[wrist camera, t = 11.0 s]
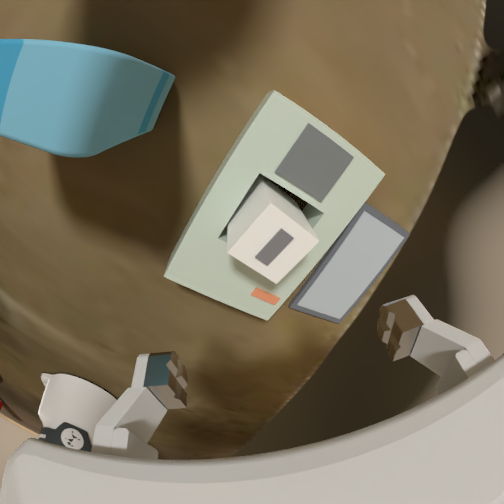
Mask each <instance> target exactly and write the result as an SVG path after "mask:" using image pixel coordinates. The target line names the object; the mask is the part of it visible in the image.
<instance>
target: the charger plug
mask: <svg viewBox="0 0 504 504" xmlns="http://www.w3.org/2000/svg"><path fill="white" fill-rule="evenodd" d="M318 242H319V240H318V238H317V236H316V234H315V233H314V231H313V229H312V228H311V226H310V224H309V222H308V221H307V219H306V217H305V216H304V214H303V212H302V211H301V209H300V207H299V206H298V204H297V203H296V201H295V200H294V199H292V198H291V197H290V196H289V195H287V194H286V193H285V192H284V191H282V190H281V189H280V188H279V187H277V186H276V185H275V184H274V183H272V182H271V181H270V180H269V179H267V178H266V177H265V176H263V175H262V174H260V173H259V175H258V176H257V178H256V179H255V181H254V182H253V184H252V186H251V187H250V189H249V190H248V192H247V193H246V195H245V196H244V198H243V199H242V201H241V203H240V204H239V206H238V207H237V209H236V210H235V212H234V214H233V215H232V217H231V218H230V220H229V221H228V231H227V253H228V254H230V255H231V256H233V257H235V258H236V259H238V260H239V261H241V262H242V263H244V264H246V265H247V266H249V267H250V268H252V269H253V270H255V271H257V272H258V273H260V274H261V275H263V276H265V277H266V278H268V279H269V280H271V281H272V282H274V283H276V284H277V283H278V282H279V281H280V280H281V279H282V278H283V277H284V276H285V275H286V274H287V273H288V272H289V271H290V270H291V269H292V268H293V267H294V266H295V265H296V264H297V263H298V262H299V261H300V260H301V259H302V258H303V257H304V256H305V255H306V254H307V253H308V252H309V251H310V250H311V249H312V248H313V247H314V246H315V245H316V244H317V243H318Z"/></svg>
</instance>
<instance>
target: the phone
mask: <svg viewBox="0 0 504 504" xmlns="http://www.w3.org/2000/svg"><path fill="white" fill-rule="evenodd" d="M409 235H410V233H409V232H408V231H406V230H405V229H404V228H402V227H401V226H399V225H398V224H397V223H395V222H394V221H392V220H391V219H390V218H388V217H387V216H385V215H384V214H382V213H381V212H379V211H378V210H377V209H375V208H374V207H372V206H371V205H369V204H368V203H366V202H365V203H364V204H363V205H362V207H361V208H360V209H359V211H358V212H357V213H356V214H355V216H354V217H353V218H352V220H351V221H350V222H349V224H348V225H347V226H346V227H345V229H344V230H343V231H342V233H341V234H340V235H339V236H338V238H337V239H336V240H335V242H334V243H333V245H332V246H331V248H330V249H329V250H328V252H327V253H326V255H325V256H324V257H323V259H322V260H321V262H320V263H319V264H318V266H317V267H316V269H315V270H314V271H313V273H312V274H311V276H310V277H309V278H308V280H307V281H306V282H305V284H304V285H303V286H302V288H301V289H300V290H299V292H298V293H297V294H296V296H295V297H294V298H293V300H292V301H291V302H290V304H289V308H292V309H295V310H298V311H301V312H304V313H307V314H310V315H313V316H316V317H319V318H323V319H326V320H329V321H332V322H335V323H338V324H339V323H340V322H341V321H342V320H343V319H344V318H345V317H346V315H347V314H348V313H349V312H350V311H351V310H352V308H353V307H354V306H355V305H356V304H357V303H358V301H359V300H360V299H361V298H362V297H363V295H364V294H365V293H366V292H367V291H368V289H369V288H370V287H371V286H372V284H373V283H374V282H375V281H376V279H377V278H378V277H379V276H380V274H381V273H382V272H383V270H384V269H385V268H386V267H387V265H388V264H389V263H390V261H391V260H392V259H393V257H394V256H395V255H396V253H397V252H398V250H399V249H400V248H401V246H402V245H403V244H404V242H405V241H406V239H407V238H408V236H409Z"/></svg>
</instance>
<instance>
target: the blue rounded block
mask: <svg viewBox="0 0 504 504" xmlns="http://www.w3.org/2000/svg"><path fill="white" fill-rule="evenodd" d="M174 80H175V76H174V75H173V74H171V73H169V72H167V71H164V70H162V69H160V68H158V67H156V66H153V65H151V64H149V63H146V62H144V61H142V60H139V59H137V58H134V57H132V56H129V55H126V54H123V53H120V52H117V51H113V50H109V49H105V48H100V47H95V46H90V45H84V44H77V43H69V42H60V41H50V40H34V39H0V136H2V137H5V138H8V139H11V140H14V141H17V142H20V143H23V144H26V145H29V146H31V147H34V148H37V149H40V150H43V151H46V152H49V153H52V154H55V155H59V156H65V157H90V156H94V155H96V154H98V153H101V152H103V151H105V150H107V149H109V148H111V147H114V146H116V145H118V144H120V143H123V142H125V141H127V140H130V139H132V138H135V137H137V136H139V135H142V134H145V133H147V132H150V131H152V130H153V128H154V125H155V123H156V120H157V118H158V115H159V113H160V111H161V108H162V106H163V104H164V101H165V99H166V97H167V95H168V92H169V90H170V88H171V86H172V84H173V82H174Z"/></svg>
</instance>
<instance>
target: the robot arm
mask: <svg viewBox="0 0 504 504" xmlns="http://www.w3.org/2000/svg"><path fill="white" fill-rule="evenodd" d="M380 314H381V317H380V318H379V319H378V323H377V329H378V334H379V336H380V338H381V340H382V341H383V342H384V343H386V344H387V351H388V353H389V355H390V357H391V359H392V360H393V361H395V360H398V359H401V358H403V357H406V356H409V355H410V356H411V357H413V358H414V359H416V360H417V361H419V362H420V363H422V364H423V365H425V366H426V367H427V368H429V369H430V370H432V371H433V372H435V373H436V374H438V375H439V376H441V377H442V378H441V379H440V381H439V382H438V384H437V386H436V391H437V392H438V394H439V395H438V396H436V397H435V398H433V399H431V400H429V401H427V402H425V403H423V404H421V405H419V406H417V407H414V408H412V409H410V410H408V411H406V412H404V413H401V414H399V415H397V416H394V417H392V418H390V419H387V420H384V421H382V422H379V423H377V424H374V425H371V426H369V427H366V428H363V429H361V430H357V431H354V432H352V433H348V434H345V435H342V436H338V437H335V438H332V439H328V440H324V441H321V442H317V443H313V444H309V445H305V446H300V447H295V448H291V449H286V450H280V451H275V452H270V453H263V454H256V455H248V456H241V457H230V458H218V459H199V460H161V459H158V451H157V450H156V449H155V448H153V447H152V446H150V445H149V444H147V443H148V441H149V439H150V438H151V436H152V435H153V433H154V431H155V430H156V428H157V427H158V425H159V423H160V422H161V420H162V418H163V417H164V415H165V414H166V412H167V409H176V408H187V393H186V391H185V390H184V388H185V387H186V386H187V384H188V377H187V371H186V369H185V366H184V364H183V363H182V362H180V361H178V355H177V353H176V352H175V351H170V352H159V353H148V354H139V356H138V357H137V361H136V366H135V370H134V375H133V381H132V386H131V388H127V390H126V391H125V392H124V393H123V394H122V395H121V397H120V398H119V399H118V400H116V399H115V398H114V397H113V396H112V395H110V394H109V393H108V392H106V391H105V390H103V389H101V388H100V387H98V386H96V385H94V384H92V383H90V382H88V381H86V380H83V379H81V378H78V377H75V376H72V375H67V374H55V375H51V374H47V373H42V376H41V379H42V382H43V384H44V386H45V391H44V394H43V397H42V400H41V404H40V407H39V411H38V415H39V416H40V419H41V421H42V423H43V428H41V432H40V434H39V437H38V438H39V439H35V438H29V439H27V440H26V441H24V442H23V443H22V444H21V445H20V446H19V447H18V448H17V449H16V450H15V451H14V452H13V453H12V454H11V456H10V457H9V459H8V461H7V464H6V468H5V471H4V476H3V480H2V485H1V490H0V504H504V354H502V355H501V356H500V357H498V358H497V359H496V360H494V358H493V357H492V356H491V354H490V353H489V351H488V350H487V348H486V347H485V345H484V344H483V343H482V341H481V340H480V339H479V338H477V337H474V336H472V335H470V334H468V333H466V332H464V331H461V330H459V329H457V328H455V327H452V326H450V325H448V324H446V323H444V322H442V321H440V320H434V319H433V318H432V317H431V316H430V314H429V313H428V311H427V310H426V309H425V308H424V306H423V305H422V304H421V302H420V301H419V300H418V299H417V297H416V296H414V295H411V296H408V297H405V298H403V299H399V300H396V301H393V302H390V303H387V304H384V305H382V306H381V308H380Z"/></svg>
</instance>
